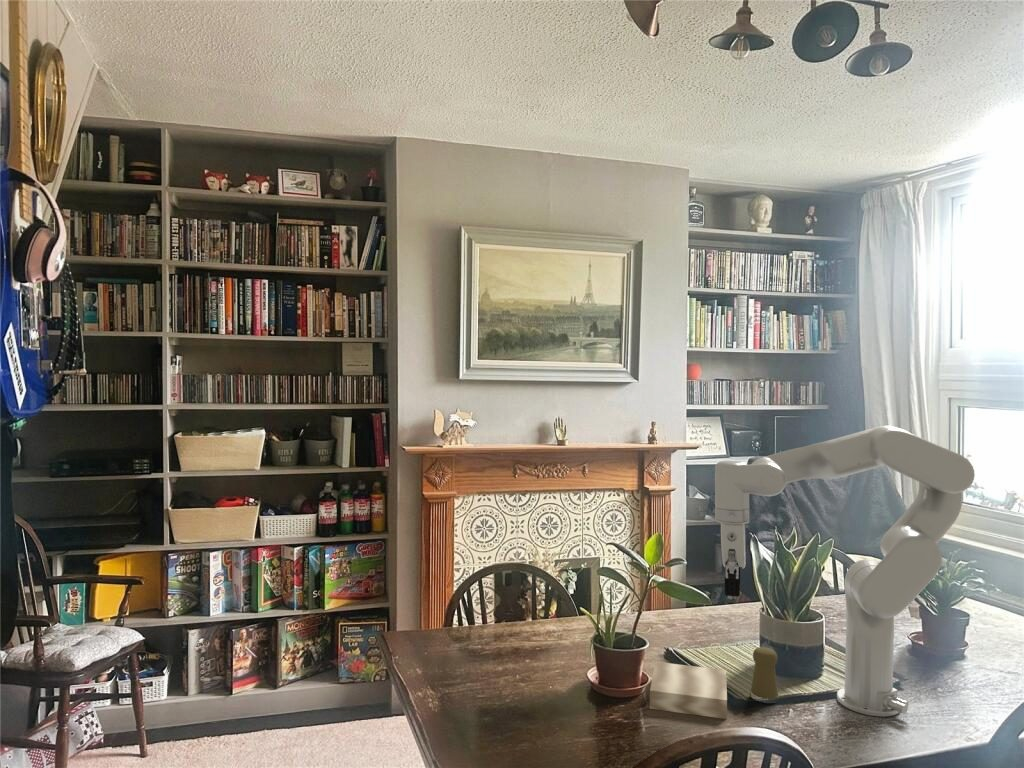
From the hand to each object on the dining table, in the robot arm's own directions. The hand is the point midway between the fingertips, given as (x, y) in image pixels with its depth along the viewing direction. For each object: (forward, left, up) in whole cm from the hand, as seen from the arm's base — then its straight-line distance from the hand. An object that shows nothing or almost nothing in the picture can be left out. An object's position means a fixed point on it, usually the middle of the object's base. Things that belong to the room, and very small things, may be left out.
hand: (732, 589), depth 167 cm
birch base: (+1, +12, -23) cm, 26 cm away
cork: (-7, -3, -23) cm, 25 cm away
